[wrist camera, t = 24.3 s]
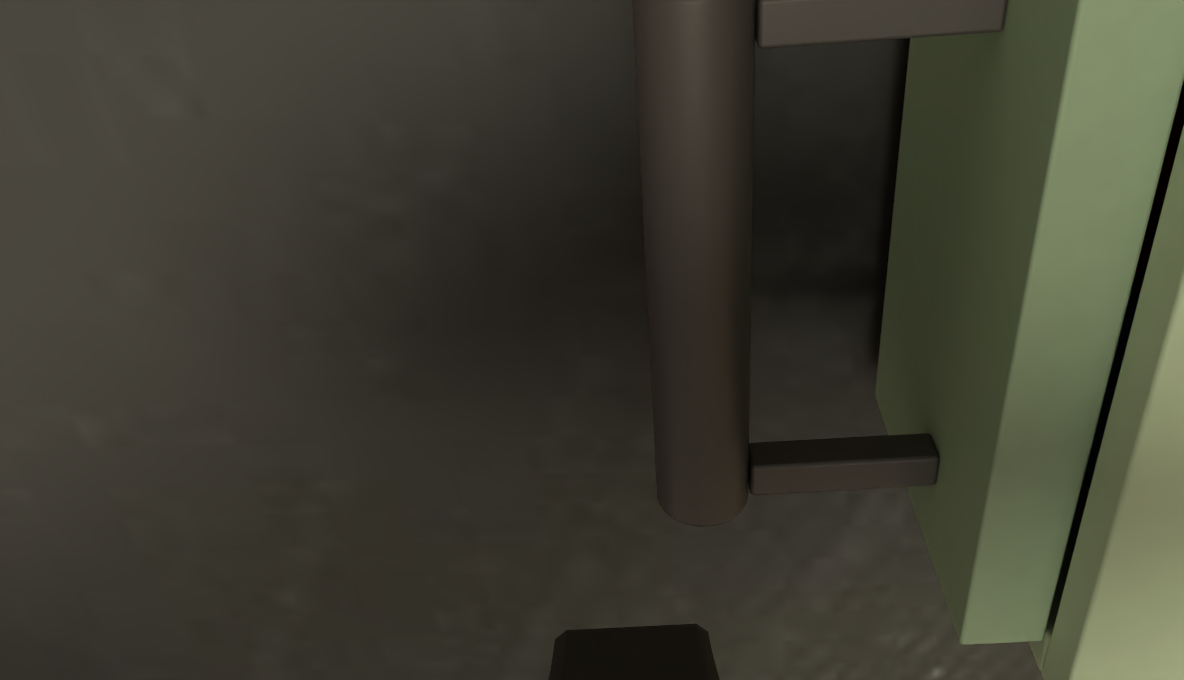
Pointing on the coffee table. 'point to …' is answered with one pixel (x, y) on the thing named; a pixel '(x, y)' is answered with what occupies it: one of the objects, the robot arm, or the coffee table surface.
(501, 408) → the coffee table surface
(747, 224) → the drawer
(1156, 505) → the green drawer cabinet
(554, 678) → the robot arm
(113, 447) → the coffee table surface
